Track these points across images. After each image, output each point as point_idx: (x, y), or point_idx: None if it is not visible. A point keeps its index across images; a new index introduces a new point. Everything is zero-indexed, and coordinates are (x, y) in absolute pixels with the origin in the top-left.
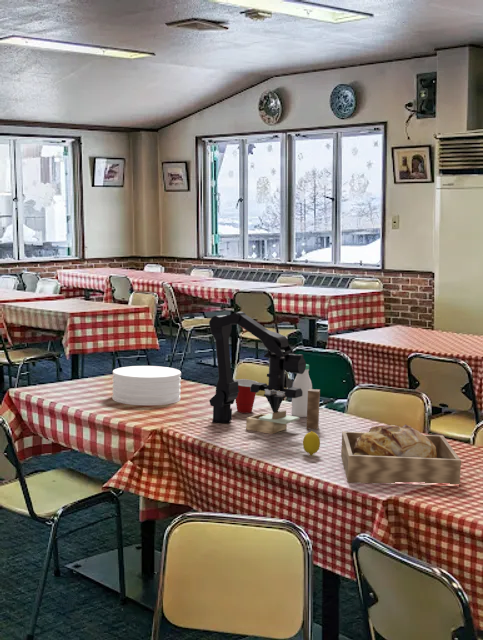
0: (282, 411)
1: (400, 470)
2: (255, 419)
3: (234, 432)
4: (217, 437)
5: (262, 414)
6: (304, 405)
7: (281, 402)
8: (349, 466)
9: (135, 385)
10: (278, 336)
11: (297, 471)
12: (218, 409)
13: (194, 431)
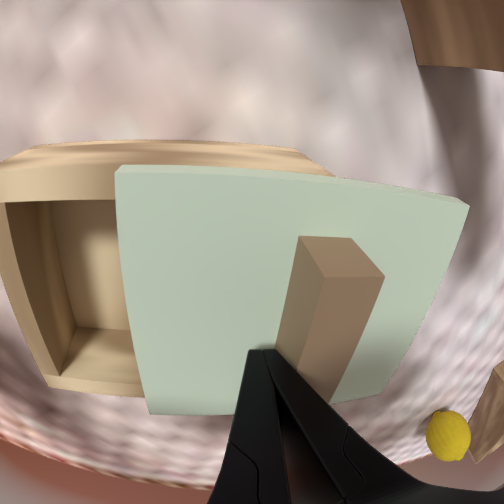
0: (349, 345)
1: None
2: (121, 395)
3: (86, 394)
4: (111, 450)
5: (12, 201)
6: None
7: (378, 451)
8: (470, 452)
9: None
10: None
11: (401, 462)
12: None
13: (7, 420)
